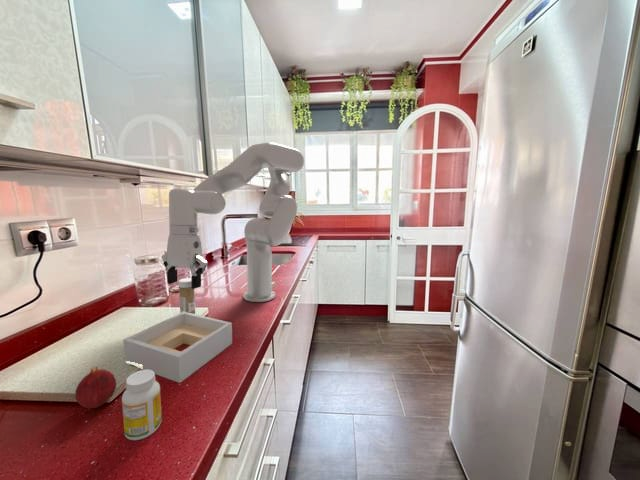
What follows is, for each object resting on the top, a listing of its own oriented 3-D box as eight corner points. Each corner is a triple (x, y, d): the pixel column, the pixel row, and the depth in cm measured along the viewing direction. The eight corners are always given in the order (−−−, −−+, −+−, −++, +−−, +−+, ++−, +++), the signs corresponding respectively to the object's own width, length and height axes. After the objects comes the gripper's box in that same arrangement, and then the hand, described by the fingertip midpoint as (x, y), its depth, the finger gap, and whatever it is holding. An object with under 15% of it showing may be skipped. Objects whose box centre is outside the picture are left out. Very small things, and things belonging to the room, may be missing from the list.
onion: (124, 401, 51) (121, 363, 50) (88, 423, 46) (84, 382, 44) (106, 391, 53) (103, 354, 52) (70, 411, 48) (65, 371, 47)
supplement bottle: (133, 447, 42) (129, 393, 40) (118, 431, 44) (113, 379, 43) (168, 423, 46) (165, 374, 45) (152, 410, 49) (149, 363, 48)
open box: (184, 330, 78) (183, 311, 77) (232, 343, 72) (231, 322, 71) (125, 363, 62) (123, 339, 61) (179, 383, 56) (178, 357, 55)
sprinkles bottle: (197, 321, 84) (195, 280, 82) (180, 324, 81) (179, 282, 79) (194, 315, 88) (193, 276, 86) (179, 318, 85) (177, 278, 83)
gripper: (215, 232, 80) (215, 286, 83) (173, 227, 86) (173, 278, 88) (196, 234, 73) (196, 293, 76) (151, 228, 79) (152, 283, 81)
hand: (184, 285), depth 82 cm, fingers open, 9 cm apart
